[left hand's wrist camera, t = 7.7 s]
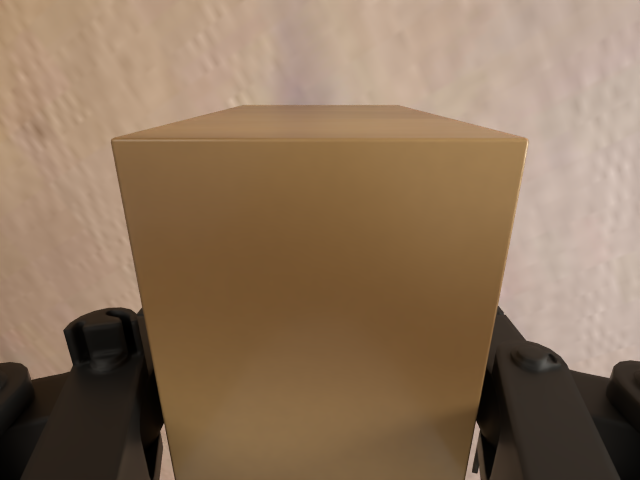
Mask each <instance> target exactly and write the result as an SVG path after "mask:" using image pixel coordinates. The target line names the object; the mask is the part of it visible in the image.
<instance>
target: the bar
mask: <svg viewBox="0 0 640 480" xmlns="http://www.w3.org/2000/svg"><path fill="white" fill-rule="evenodd" d="M528 143H529V141H528V139H527V138H524V137H520V136H516V135H512V134H508V133H504V132H500V131H496V130H493V129H489V128H485V127H481V126H477V125H473V124H469V123H465V122H461V121H458V120H454V119H450V118H446V117H442V116H438V115H434V114H430V113H426V112H422V111H419V110H415V109H411V108H407V107H403V106H399V105H242V106H238V107H234V108H230V109H226V110H222V111H218V112H214V113H210V114H206V115H202V116H198V117H194V118H191V119H187V120H183V121H179V122H175V123H171V124H167V125H163V126H159V127H155V128H151V129H147V130H143V131H139V132H135V133H131V134H127V135H123V136H119V137H115V138H113V139H112V140H111V145H112V150H113V155H114V161H115V166H116V171H117V176H118V182H119V187H120V192H121V197H122V203H123V208H124V213H125V219H126V224H127V229H128V234H129V240H130V245H131V250H132V255H133V261H134V266H135V271H136V277H137V282H138V287H139V292H140V298H141V303H142V308H143V313H144V319H145V324H146V329H147V335H148V340H149V345H150V350H151V356H152V361H153V366H154V371H155V377H156V382H157V387H158V393H159V398H160V403H161V408H162V414H163V419H164V424H165V429H166V435H167V440H168V445H169V451H170V456H171V461H172V466H173V472H174V477H175V480H465V476H466V470H467V465H468V460H469V455H470V449H471V444H472V439H473V434H474V428H475V423H476V418H477V412H478V407H479V402H480V397H481V391H482V386H483V381H484V376H485V370H486V365H487V360H488V354H489V349H490V344H491V339H492V333H493V328H494V323H495V317H496V312H497V307H498V302H499V296H500V291H501V286H502V281H503V275H504V270H505V265H506V259H507V254H508V249H509V244H510V238H511V233H512V228H513V223H514V217H515V212H516V207H517V201H518V196H519V191H520V186H521V180H522V175H523V170H524V165H525V159H526V154H527V149H528Z"/></svg>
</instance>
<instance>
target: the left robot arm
mask: <svg viewBox="0 0 640 480" xmlns="http://www.w3.org/2000/svg"><path fill="white" fill-rule="evenodd" d="M63 331H64V335H65V338H66V342H67V345H68V349H69V352H70V356H71V359H72V363H73V367H72V369H71V371H70V372H67V373H63V374H58V375H53V376H48V377H43V378H38V379H34V380H31V378H30V375H29V372H28V369H27V368H26V367H25V366H24V365H22V364H21V363H13V362H7V363H0V480H159V478H160V469H161V461H162V452H163V444H162V438H161V433H160V430H161V428H162V426H163V424H164V419H163V414H162V408H161V403H160V398H159V393H158V387H157V382H156V377H155V371H154V366H153V361H152V356H151V350H150V345H149V340H148V335H147V329H146V324H145V319H144V313H143V308H141V309H140V311H139V312H138V313H137V314H136V313H135V312H133V311H132V310H130V309H126V308H106V309H101V310H97V311H93V312H90V313H88V314H85V315H83V316H81V317H79V318H77V319H76V320H74V321H72V322H71V323H70V324H69V325H68V326H67V327H66V328H65V329H64V330H63ZM476 421H477V423H478V425H479V428H480V433H479V438H478V443H477V448H476V453H475V458H474V463H473V469H472V472H473V473H478V468H480V477H481V480H640V361H632V360H630V361H622V362H619V363H618V364H616V365H615V366H614V367H613V370H612V373H611V376H610V378H606V377H601V376H596V375H591V374H586V373H581V372H577V371H573V370H569V368H568V366H567V364H566V363H565V362H564V360H563V359H562V358H561V357H560V356H559V355H558V354H556V353H555V352H553V351H552V350H551V349H549V348H547V347H544V346H542V345H540V344H538V343H534V342H529V341H526V340H525V339H524V337H523V336H522V335H521V334H520V332H519V331H518V330H517V329H516V327H515V326H514V325H513V324H512V322H511V321H510V320H509V319H508V317H507V316H506V315H504V312H503V311H502V310H501V309H500V307H499V306H498V307H497V312H496V317H495V323H494V328H493V333H492V339H491V344H490V349H489V354H488V360H487V365H486V370H485V376H484V381H483V386H482V391H481V397H480V402H479V407H478V412H477V418H476Z"/></svg>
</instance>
